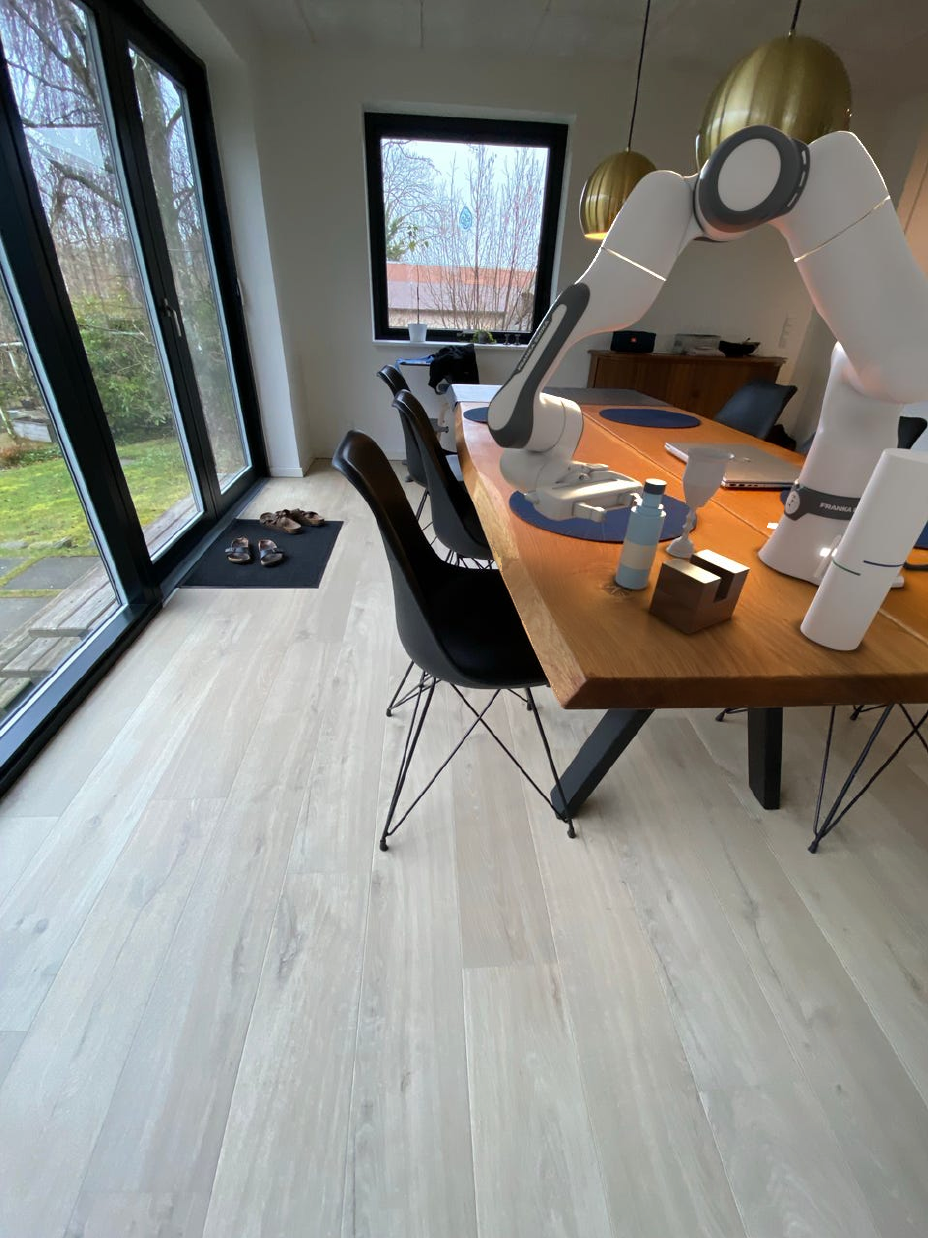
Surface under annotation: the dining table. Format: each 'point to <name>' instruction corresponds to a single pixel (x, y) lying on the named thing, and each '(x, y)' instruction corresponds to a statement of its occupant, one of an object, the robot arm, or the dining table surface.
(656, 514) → the bottle
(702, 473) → the chalice
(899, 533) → the cylindrical container
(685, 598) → the block
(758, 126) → the robot arm
